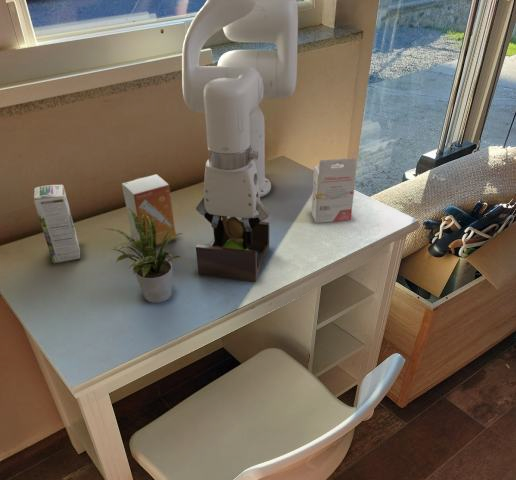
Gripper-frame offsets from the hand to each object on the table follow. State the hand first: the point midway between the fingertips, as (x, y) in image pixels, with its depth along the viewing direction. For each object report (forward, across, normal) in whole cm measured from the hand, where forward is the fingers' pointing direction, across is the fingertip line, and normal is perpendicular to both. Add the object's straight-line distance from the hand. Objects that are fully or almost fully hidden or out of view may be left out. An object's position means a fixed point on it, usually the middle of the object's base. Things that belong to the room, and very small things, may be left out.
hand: (233, 243), depth 104 cm
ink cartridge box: (+5, -17, -23) cm, 29 cm away
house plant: (+5, +13, +14) cm, 19 cm away
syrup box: (+5, +36, +5) cm, 37 cm away
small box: (+5, +20, -5) cm, 21 cm away
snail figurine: (+5, 0, 0) cm, 5 cm away
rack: (+4, 0, 0) cm, 4 cm away
